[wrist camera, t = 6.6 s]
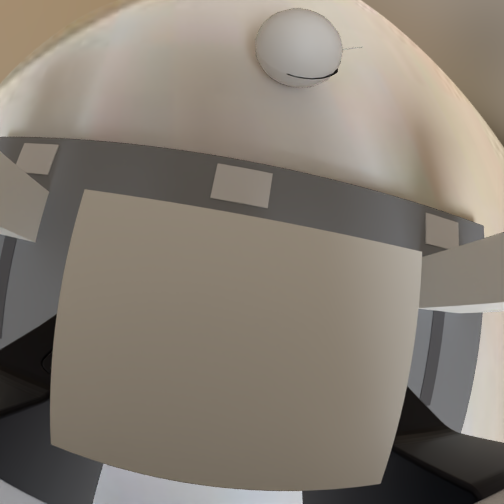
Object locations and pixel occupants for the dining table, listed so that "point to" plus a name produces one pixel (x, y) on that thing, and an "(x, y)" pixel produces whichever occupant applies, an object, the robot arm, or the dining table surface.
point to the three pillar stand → (257, 205)
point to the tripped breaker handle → (230, 347)
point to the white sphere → (299, 48)
